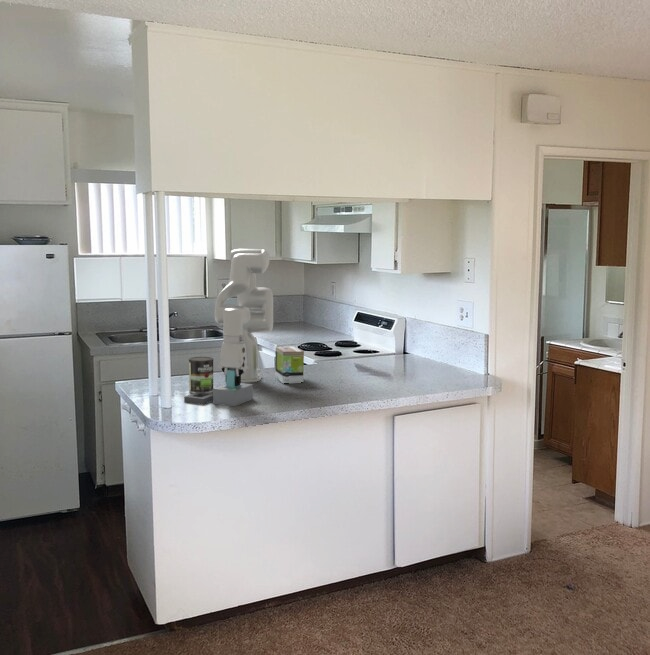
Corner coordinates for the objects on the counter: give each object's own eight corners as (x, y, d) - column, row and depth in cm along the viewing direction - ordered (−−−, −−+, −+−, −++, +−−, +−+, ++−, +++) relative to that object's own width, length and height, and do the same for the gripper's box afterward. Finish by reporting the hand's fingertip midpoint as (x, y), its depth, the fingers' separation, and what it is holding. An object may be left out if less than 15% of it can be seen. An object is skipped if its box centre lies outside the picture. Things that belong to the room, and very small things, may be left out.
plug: (232, 391, 287) (233, 363, 286) (239, 391, 285) (240, 364, 284) (225, 392, 282) (226, 365, 281) (233, 393, 281) (234, 365, 280)
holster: (198, 396, 291) (198, 391, 291) (217, 399, 287) (217, 393, 287) (184, 402, 282) (184, 396, 282) (203, 404, 278) (203, 399, 278)
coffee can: (218, 392, 300) (217, 359, 298) (195, 395, 294) (195, 361, 292) (206, 387, 308) (206, 355, 306) (184, 390, 302) (184, 357, 300)
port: (231, 396, 293) (231, 381, 292) (252, 398, 289) (252, 383, 288) (213, 403, 280) (212, 387, 279) (235, 406, 276) (235, 390, 275)
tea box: (304, 383, 320) (304, 350, 318) (282, 384, 317) (282, 351, 315) (295, 376, 334) (295, 345, 332) (274, 377, 331) (274, 346, 329)
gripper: (255, 339, 281) (256, 385, 284) (220, 336, 288) (220, 381, 290) (246, 342, 274) (246, 388, 277) (210, 339, 281) (210, 384, 283)
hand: (233, 384), depth 283 cm, fingers closed on plug, 3 cm apart
